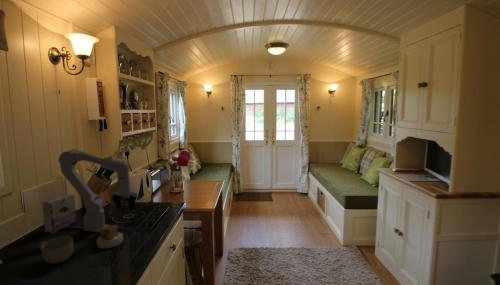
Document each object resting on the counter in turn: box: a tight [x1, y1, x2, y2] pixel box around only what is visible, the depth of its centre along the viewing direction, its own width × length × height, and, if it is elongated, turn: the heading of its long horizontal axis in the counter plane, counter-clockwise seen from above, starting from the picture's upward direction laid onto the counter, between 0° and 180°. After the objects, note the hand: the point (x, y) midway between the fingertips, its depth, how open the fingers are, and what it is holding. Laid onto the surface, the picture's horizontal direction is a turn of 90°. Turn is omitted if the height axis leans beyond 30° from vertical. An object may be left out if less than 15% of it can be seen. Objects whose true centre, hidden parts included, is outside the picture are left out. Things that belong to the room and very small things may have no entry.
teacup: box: [38, 235, 75, 265], centre depth 112 cm, size 14×11×8 cm
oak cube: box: [100, 224, 119, 240], centre depth 126 cm, size 5×5×5 cm
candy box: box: [41, 193, 78, 234], centre depth 142 cm, size 14×6×16 cm, turn 164°
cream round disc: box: [96, 231, 124, 249], centre depth 126 cm, size 11×11×3 cm
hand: (125, 209), depth 143 cm, fingers open, 7 cm apart
